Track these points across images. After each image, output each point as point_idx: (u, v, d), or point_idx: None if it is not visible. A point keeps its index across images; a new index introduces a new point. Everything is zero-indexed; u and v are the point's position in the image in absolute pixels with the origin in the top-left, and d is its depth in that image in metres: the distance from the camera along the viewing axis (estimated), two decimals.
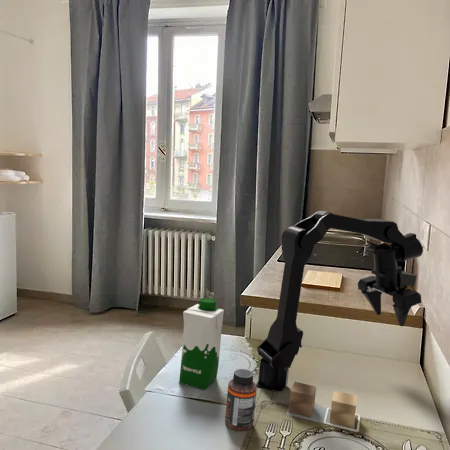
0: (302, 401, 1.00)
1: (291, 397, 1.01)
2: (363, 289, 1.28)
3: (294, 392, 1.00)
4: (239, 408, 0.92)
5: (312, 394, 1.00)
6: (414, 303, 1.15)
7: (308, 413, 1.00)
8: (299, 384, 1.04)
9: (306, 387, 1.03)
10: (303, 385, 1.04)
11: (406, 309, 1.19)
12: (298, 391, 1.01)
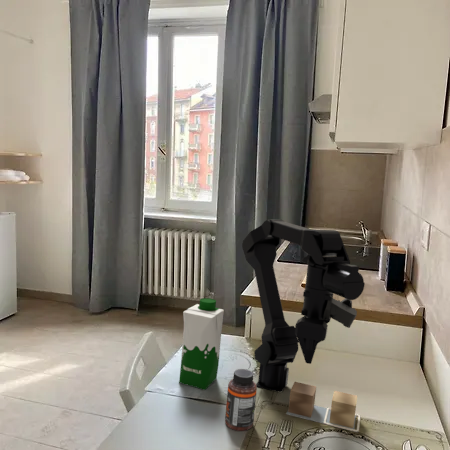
0: (302, 401, 1.00)
1: (291, 397, 1.01)
2: None
3: (294, 392, 1.00)
4: (239, 408, 0.92)
5: (312, 394, 1.00)
6: (311, 335, 0.91)
7: (308, 413, 1.00)
8: (299, 384, 1.04)
9: (306, 387, 1.03)
10: (303, 385, 1.04)
11: (313, 343, 0.95)
12: (298, 391, 1.01)
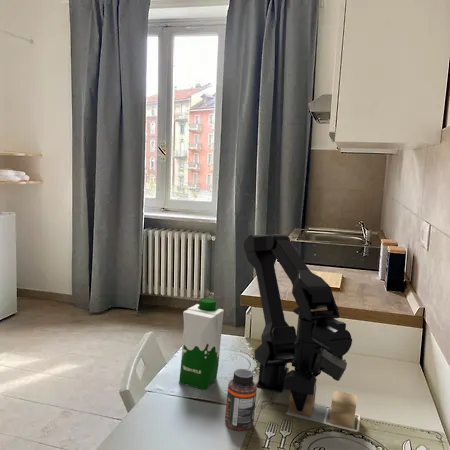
0: None
1: (291, 397, 1.01)
2: None
3: None
4: (239, 408, 0.92)
5: None
6: (299, 390, 0.93)
7: (308, 413, 1.00)
8: None
9: None
10: None
11: (303, 393, 0.98)
12: None
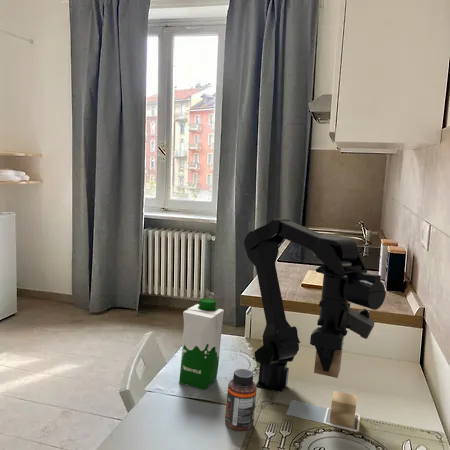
0: None
1: (317, 357, 0.98)
2: None
3: None
4: (239, 408, 0.92)
5: (339, 354, 0.97)
6: (326, 346, 0.90)
7: (335, 373, 0.97)
8: None
9: None
10: None
11: (330, 351, 0.95)
12: None
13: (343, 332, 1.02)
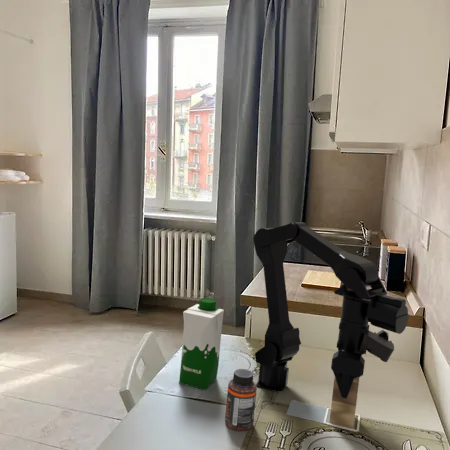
0: None
1: (335, 385, 0.97)
2: None
3: None
4: (239, 408, 0.92)
5: (357, 382, 0.96)
6: (348, 371, 0.89)
7: (353, 401, 0.96)
8: None
9: None
10: None
11: (349, 378, 0.93)
12: None
13: None
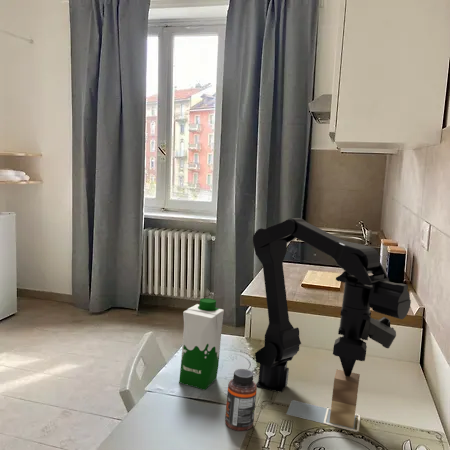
0: (346, 388, 0.97)
1: (335, 385, 0.97)
2: None
3: (338, 380, 0.97)
4: (239, 408, 0.92)
5: (357, 382, 0.96)
6: (350, 356, 0.89)
7: (353, 401, 0.96)
8: (342, 372, 1.01)
9: None
10: None
11: None
12: (342, 379, 0.97)
13: None
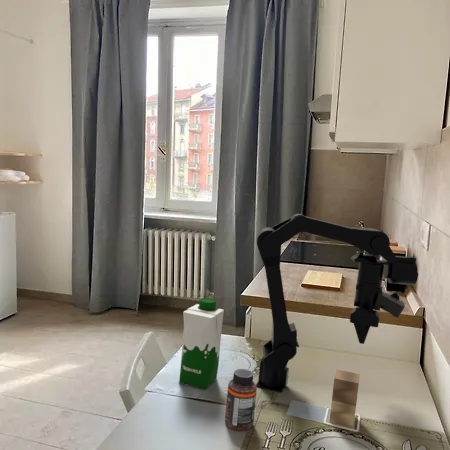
0: (346, 388, 0.97)
1: (335, 385, 0.97)
2: None
3: (338, 380, 0.97)
4: (239, 408, 0.92)
5: (357, 382, 0.96)
6: (365, 323, 1.02)
7: (353, 401, 0.96)
8: (342, 372, 1.01)
9: (349, 374, 1.00)
10: (346, 372, 1.01)
11: (366, 326, 1.10)
12: (342, 379, 0.97)
13: None
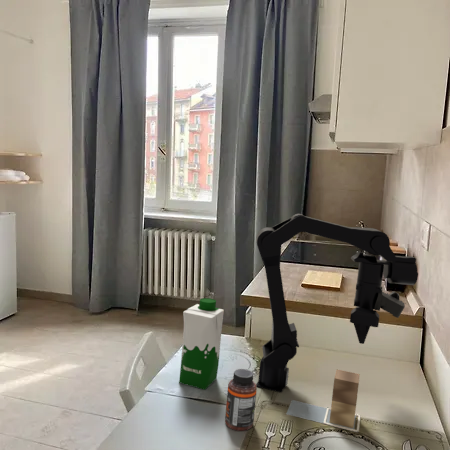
0: (346, 388, 0.97)
1: (335, 385, 0.97)
2: None
3: (338, 380, 0.97)
4: (239, 408, 0.92)
5: (357, 382, 0.96)
6: (365, 323, 1.02)
7: (353, 401, 0.96)
8: (342, 372, 1.01)
9: (349, 374, 1.00)
10: (346, 372, 1.01)
11: (366, 326, 1.10)
12: (342, 379, 0.97)
13: None
